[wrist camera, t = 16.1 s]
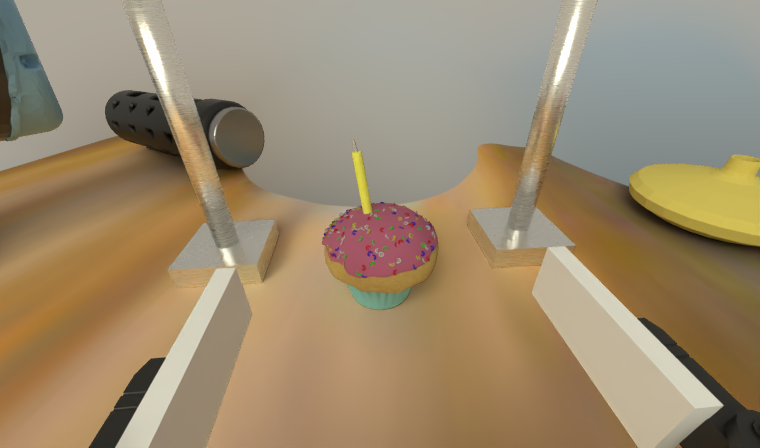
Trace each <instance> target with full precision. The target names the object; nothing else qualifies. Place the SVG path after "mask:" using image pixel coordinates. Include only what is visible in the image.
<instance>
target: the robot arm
mask: <svg viewBox="0 0 760 448" xmlns="http://www.w3.org/2000/svg"><path fill="white" fill-rule="evenodd" d="M62 121H63V113H62V110H61V108H60V105H59V103H58V101H57V98H56V96H55V94H54V92H53V89H52V87H51V85H50V82H49V80H48V78H47V75H46V73H45V71H44V69H43V66H42V64H41V62H40V59H39V57H38V55H37V52H36V50H35V48H34V46H33V43H32V41H31V39H30V36H29V34H28V32H27V30H26V27H25V25H24V23H23V20H22V18H21V16H20V14H19V11H18V9H17V7H16V4H15V2H14V0H0V141H4V140H5V141H13V140H16V139H17V138H19V137H22V136H27V135H32V134H38V133H43V132H49V131H52V130H54V129H56V128H58V127H59V126H60V124H61V123H62ZM532 295H533V296H534V298H535V299H536V301H537V302H538V303H539V305H540V306H541V308H542V309H543V311H544V312H545V314H546V315H547V316H548V318H549V319H550V321H551V322H552V324H553V325H554V327H555V328H556V329H557V331H558V332H559V334H560V335H561V337H562V338H563V340H564V341H565V342H566V344H567V345H568V347H569V348H570V350H571V351H572V353H573V354H574V355H575V357H576V358H577V360H578V361H579V363H580V364H581V366H582V367H583V369H584V370H585V371H586V373H587V374H588V376H589V377H590V379H591V380H592V382H593V383H594V384H595V386H596V387H597V389H598V390H599V392H600V393H601V395H602V396H603V397H604V399H605V400H606V402H607V403H608V405H609V406H610V408H611V409H612V410H613V412H614V413H615V415H616V416H617V418H618V419H619V421H620V422H621V423H622V425H623V426H624V428H625V429H626V431H627V432H628V434H629V435H630V436H631V438H632V439H633V441H634V442H635V444H636V445H637V447H638V448H676V447H677V446H678V445H679V444H680V445H681V447H682V448H760V412H757V411H754V410H747V409H746V408H745V407H744V406H742V405H741V404H740V403H739V402H738V401H737V400H736V399H735V398H734V397H732V396H731V395H730V394H729V393H728V392H727V391H726V390H725V389H724V388H723V387H722V386H721V385H720V384H719V383H718V382H717V381H716V380H715V379H714V378H713V377H712V376H711V375H709V374H708V373H707V372H706V371H705V370H704V369H703V368H702V367H701V366H700V365H699V364H698V363H697V362H696V361H695V360H694V359H693V358H690V357H689V354H687V353H686V352H685V351H684V350H683V349H682V348H681V347H680V346H677V343H676V342H675V341H674V340H673V339H672V338H671V337H670V336H669V335H668V334H667V333H666V332H664V331H663V330H662V329H661V328H659V327H658V326H656V325H655V324H653V323H651V322H650V321H648V320H647V319H645V318H636V317H635V316H634V315H633V314H632V313H631V312H630V311H629V310H628V309H627V308H626V307H625V306H624V305H623V304H622V303H621V302H620V301H619V300H618V299H617V298H616V297H615V296H614V295H613V294H612V293H611V292H610V291H609V290H608V289H607V288H606V287H605V286H604V285H603V284H602V283H601V282H600V281H599V280H598V279H597V278H596V277H595V276H594V275H593V274H592V273H591V272H590V271H589V270H588V269H587V268H586V267H585V266H584V265H583V264H582V263H581V262H580V261H579V260H578V259H577V258H576V257H575V256H574V255H573V254H572V253H571V252H570V251H569V250H568V249H567V248H566V247H565V246H560V247H548V248H547V251H546V253H545V256H544V259H543V262H542V265H541V268H540V271H539V273H538V276H537V279H536V282H535V285H534V288H533V290H532ZM251 316H252V311H251V309H250V306H249V303H248V300H247V297H246V295H245V292H244V289H243V286H242V283H241V281H240V278H239V275H238V272H237V269H236V268H220V269H216V270H215V272H214V274H213V276H212V277H211V279H210V281H209V283H208V284H207V286H206V288H205V290H204V292H203V293H202V295H201V297H200V299H199V300H198V302H197V304H196V306H195V307H194V309H193V311H192V313H191V315H190V316H189V318H188V320H187V322H186V323H185V325H184V327H183V329H182V330H181V332H180V334H179V336H178V338H177V339H176V341H175V343H174V345H173V346H172V348H171V350H170V352H169V353H168V355H167V357H165V358H153V359H150V360H149V361H148V362H147V363H146V364H145V365H144V366H143V367H142V368H141V369H140V370H139V371H138V372H137V373H136V374H135V375H134V376H133V378H132V380H131V381H130V383H129V384H128V386H127V387H126V389H125V391H124V392H123V393H124V394H123V396H121V397H120V399H119V400H118V402H117V403H116V405H115V407H114V410H113V411H111V413H110V414H109V416H108V418H107V419H106V421H105V422H104V424H103V426H102V427H101V429H100V430H99V432H98V434H97V435H96V437H95V438H94V440H93V441H92V443H91V445H90V446H89V448H206V446H207V443H208V440H209V437H210V434H211V432H212V429H213V426H214V423H215V420H216V417H217V414H218V411H219V409H220V406H221V403H222V400H223V397H224V394H225V391H226V388H227V386H228V383H229V380H230V377H231V374H232V371H233V368H234V365H235V363H236V360H237V357H238V354H239V351H240V348H241V345H242V342H243V339H244V337H245V334H246V331H247V328H248V325H249V322H250V319H251Z"/></svg>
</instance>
